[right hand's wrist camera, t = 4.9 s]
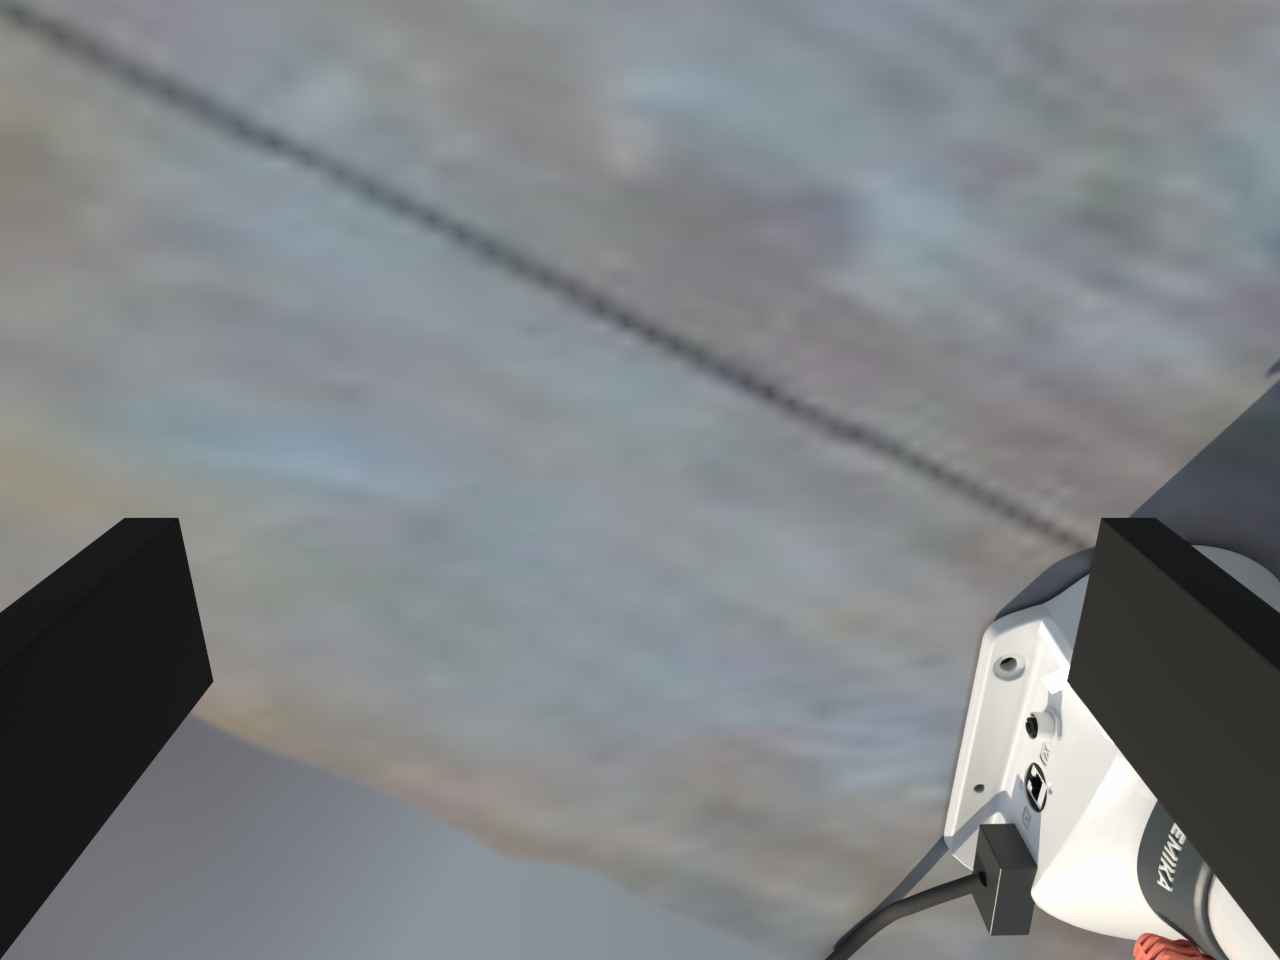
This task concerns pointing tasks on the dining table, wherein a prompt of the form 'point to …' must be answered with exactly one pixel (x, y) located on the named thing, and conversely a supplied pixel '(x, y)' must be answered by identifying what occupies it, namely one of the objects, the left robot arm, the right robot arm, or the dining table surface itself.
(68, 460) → the dining table surface
